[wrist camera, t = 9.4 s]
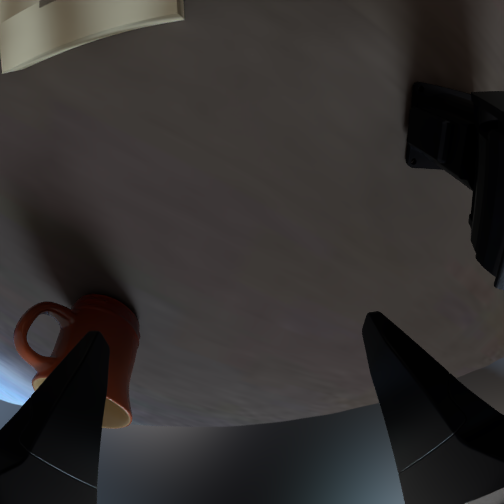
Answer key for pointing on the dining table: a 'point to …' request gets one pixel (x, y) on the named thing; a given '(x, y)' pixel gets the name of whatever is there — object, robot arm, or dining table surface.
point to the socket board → (72, 25)
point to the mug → (73, 330)
